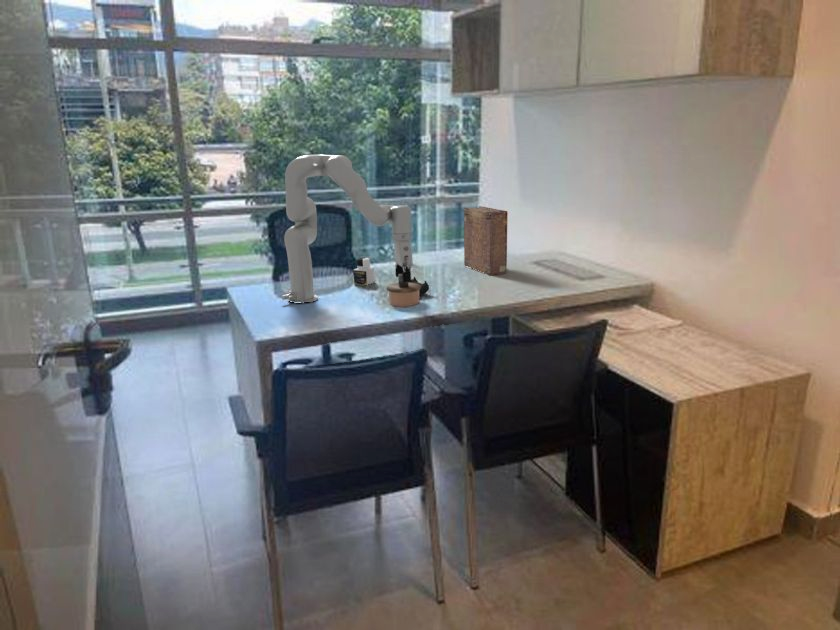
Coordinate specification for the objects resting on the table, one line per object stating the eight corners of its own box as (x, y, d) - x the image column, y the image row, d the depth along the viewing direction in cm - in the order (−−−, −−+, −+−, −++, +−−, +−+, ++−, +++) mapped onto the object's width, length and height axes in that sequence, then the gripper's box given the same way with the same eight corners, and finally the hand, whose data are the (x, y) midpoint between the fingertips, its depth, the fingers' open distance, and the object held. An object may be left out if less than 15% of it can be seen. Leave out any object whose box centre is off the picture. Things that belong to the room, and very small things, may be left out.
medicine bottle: (353, 284, 289) (352, 259, 286) (362, 281, 295) (360, 256, 292) (366, 285, 286) (365, 260, 282) (375, 282, 292) (373, 257, 288)
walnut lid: (404, 294, 245) (404, 280, 243) (379, 289, 254) (378, 275, 252) (427, 287, 255) (427, 273, 253) (402, 282, 264) (402, 269, 262)
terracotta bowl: (405, 308, 248) (404, 293, 246) (383, 303, 256) (383, 289, 254) (425, 301, 257) (424, 287, 255) (403, 297, 264) (403, 283, 263)
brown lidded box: (464, 266, 320) (463, 207, 312) (479, 264, 324) (479, 206, 316) (490, 275, 298) (490, 212, 290) (506, 273, 302) (507, 211, 294)
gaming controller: (417, 304, 262) (434, 289, 265) (411, 294, 259) (428, 279, 262) (398, 296, 276) (414, 282, 279) (392, 286, 273) (408, 272, 276)
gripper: (417, 239, 242) (418, 282, 247) (404, 233, 258) (405, 273, 262) (399, 241, 240) (400, 284, 244) (386, 234, 255) (388, 275, 260)
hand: (403, 279), depth 253 cm, fingers open, 9 cm apart
